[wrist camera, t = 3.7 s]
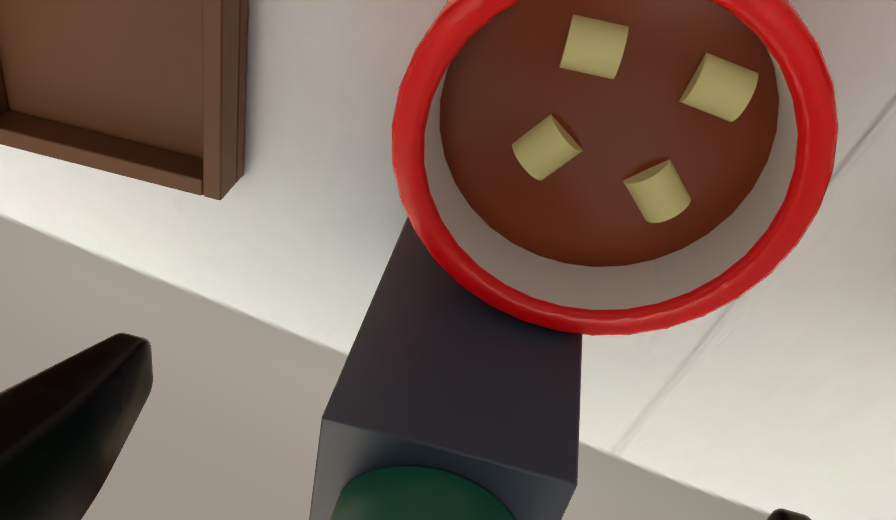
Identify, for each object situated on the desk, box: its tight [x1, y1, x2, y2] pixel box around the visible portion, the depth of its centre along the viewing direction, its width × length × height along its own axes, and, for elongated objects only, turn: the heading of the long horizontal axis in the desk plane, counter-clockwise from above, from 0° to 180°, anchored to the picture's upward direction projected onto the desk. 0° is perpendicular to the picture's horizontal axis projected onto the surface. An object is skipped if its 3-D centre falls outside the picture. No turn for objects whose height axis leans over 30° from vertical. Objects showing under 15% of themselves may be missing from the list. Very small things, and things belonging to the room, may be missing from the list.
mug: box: [392, 0, 838, 336], centre depth 15 cm, size 8×12×8 cm, turn 162°
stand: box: [309, 217, 582, 520], centre depth 19 cm, size 5×5×12 cm
